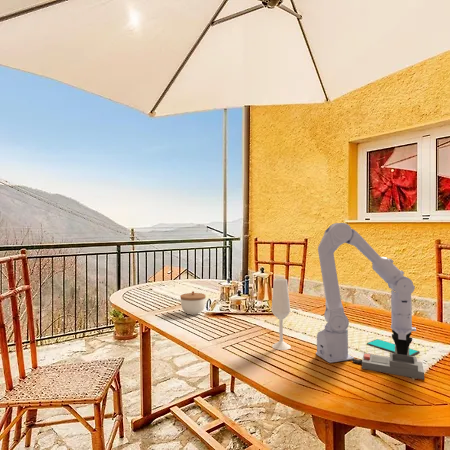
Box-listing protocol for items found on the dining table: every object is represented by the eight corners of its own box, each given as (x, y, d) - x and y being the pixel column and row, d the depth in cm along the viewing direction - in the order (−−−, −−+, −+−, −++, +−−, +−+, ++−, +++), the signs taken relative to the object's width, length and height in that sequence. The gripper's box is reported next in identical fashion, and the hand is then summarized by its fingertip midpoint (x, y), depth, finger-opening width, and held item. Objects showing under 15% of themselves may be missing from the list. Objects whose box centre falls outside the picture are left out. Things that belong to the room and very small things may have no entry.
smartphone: (409, 356, 104) (366, 343, 117) (409, 359, 104) (366, 345, 117) (420, 351, 109) (377, 338, 121) (420, 353, 109) (377, 341, 121)
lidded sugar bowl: (207, 310, 167) (207, 289, 168) (203, 317, 155) (203, 294, 155) (183, 310, 169) (183, 289, 169) (177, 316, 156) (177, 293, 156)
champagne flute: (270, 343, 119) (270, 278, 119) (289, 343, 119) (288, 278, 119) (273, 350, 112) (272, 281, 112) (292, 350, 112) (291, 281, 112)
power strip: (351, 366, 98) (351, 355, 98) (354, 357, 105) (354, 346, 105) (424, 379, 89) (424, 367, 89) (422, 368, 96) (421, 357, 96)
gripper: (417, 320, 95) (418, 366, 94) (414, 309, 107) (415, 349, 107) (390, 317, 98) (391, 362, 98) (390, 306, 111) (391, 346, 111)
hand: (402, 355), depth 103 cm, fingers closed on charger, 4 cm apart
